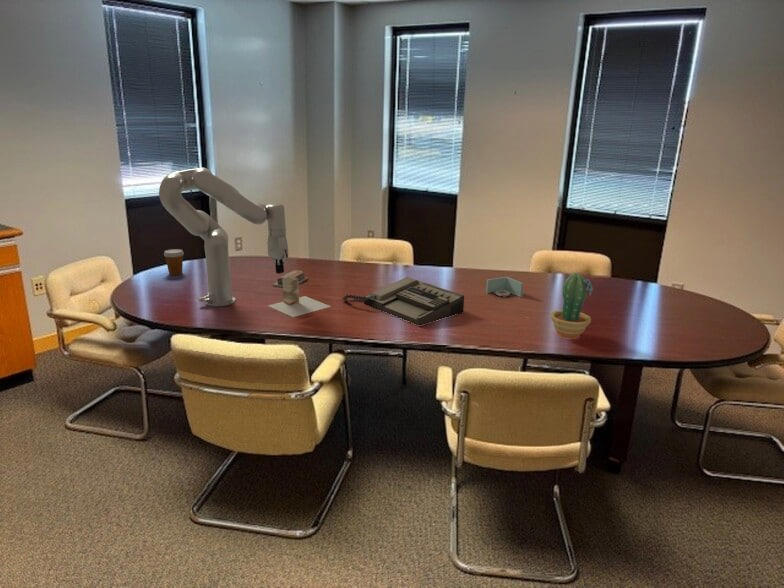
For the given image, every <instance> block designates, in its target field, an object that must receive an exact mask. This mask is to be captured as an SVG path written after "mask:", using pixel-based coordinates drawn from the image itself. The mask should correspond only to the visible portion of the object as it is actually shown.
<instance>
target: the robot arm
mask: <svg viewBox="0 0 784 588" xmlns="http://www.w3.org/2000/svg"><path fill="white" fill-rule="evenodd" d="M192 190H198V191H199V192H201V193H203V194H205V195H206V196H209V197H211V198H212V199H214V200H215V201H217V202H219V203H220V204H222V205H223V206H225V208H228V209H229V210H231V211H232V212H233V213H235V214H237V215H238V216H239V217H241V218H243V219H245V220H246V221H248V222H250V223H252V224H254V225H262V224H264V223H265V222H267V228H268V229H267V231H268V235H267V255H268V257H270V258H271V259H272V260H273V261H274V267H275V273H276V274H278V275H279V274H283V273H284V272H285V269H284V268H285V267H284V265H285V263H287V262H288V258H289V245H288V239H287V230H286V229H287V227H286V226H287V225H286V213H285V212H286V211H285V206H284V204H282V203H270V204H267V203H266V204H265V203H254V202H253V201H251V200H249V199H248V198H246V197H245V196H244V195H242V194H241V193H240V192H239V191H238V190H237V189H236V188H235V187H234V186H232V185H231V184H229V183H228V182H226V181H224V180H223V179H221V178H219V177H218V176H216V175H214V174H213V173H212V171H211V170H210V169H208V168H206V167H199V168H198V167H197V168H192V169H186V170H185V169H184V170H180V171H179V170H178V171H174V172H170V173H168V174H166V176H164V178H162V181H161V183H160V185H159V190H158V196H159V200H160V203H161V205H162V206H163V207H164V208H165V210H166V211H167V212H168V213H169V214H170V215H171V216H172V217H173V218H174V219H175V220H176V221H177V222H178V223H179V224H181V226H182V227H184V229H186V231H188V233H190V234H191V235H193V236H196V237H199V238H201V239H202V240H203V241H204V245H203V247H204V253H205V254H204V255H205V263H206V271H207V272H206V274H207V286H208V292H207V293H206V295H205V296H202V297H201V296H200V297H198V302H200V303H202V302H204V303H205V304H206V305H207V306H209V307H215V308H216V307H218V308H219V307H220V308H221V307H228V306H231V305H233V304H234V303H235V302H236V297H234V296H232V295H233V293H232V283H231V282H232V279H231V278H232V277H231V266H230V255H229V253H230V252H229V236H228V233H227V232H226V230H225V229H224V228H223V227H222V226H221V225H220V224H218V223H217V222H216V221H215V219H214V218H213V217H211V215H209V214H208V213H206V212H205V211H204V210H200V209H196V208H195V207H193V205H192V204H191V203H190V201H189V202H188V200H186V199H185V198H184V197H183V194H182V193H183V192H187V191H192Z"/></svg>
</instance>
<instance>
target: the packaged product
mask: <svg viewBox="0 0 784 588" xmlns="http://www.w3.org/2000/svg"><path fill="white" fill-rule="evenodd" d="M288 277H294V278H297V279H299V285H300V284H302V283H304V282H305V281H307V280H308V279H309V277H306V276H305V271H303V270H297V269H294V270H291V271H289V272H287V273H285V274H283V275H282V276H279V277H277V281H276V282H273V283H272V286H273V287H275V286H276V288H282V287H283V284H282V279H283V278H288Z"/></svg>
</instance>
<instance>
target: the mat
mask: <svg viewBox="0 0 784 588" xmlns="http://www.w3.org/2000/svg"><path fill="white" fill-rule="evenodd" d="M267 307H269V308H272V309H273V310H276V311H277V312H280V313H283V314H285V315H288V316H290V317H291V318H295V317H299V316H301V315H306V314H309V313H313V312H317V311H320V310H323V309H328V308H331V305H329V304H325V303H323V302H321V301H319V300H316V299H313V298H311V297H308V296H306V295H305V296H299V303H297V304H293V305H288V304H286V303H283V301H281V302H277V303H276V302H275V303H272V304H269V305H267Z"/></svg>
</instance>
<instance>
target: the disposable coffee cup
mask: <svg viewBox="0 0 784 588" xmlns="http://www.w3.org/2000/svg"><path fill="white" fill-rule="evenodd" d="M184 254H185V253H184V251H183V249H179V248H175V249H174V248H171V249H167V250H164V252H163V255H164V257H165V261H166V266H167V271H168V273H169V275H170V276H180V275H182V274H183V267H184V266H183V265H184V264H183V260H184Z"/></svg>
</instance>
